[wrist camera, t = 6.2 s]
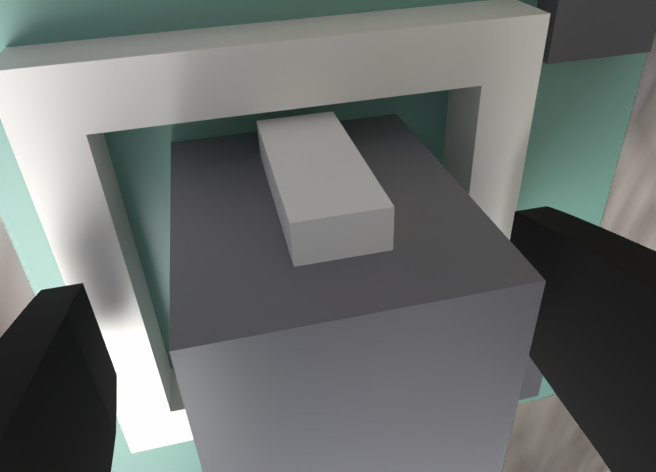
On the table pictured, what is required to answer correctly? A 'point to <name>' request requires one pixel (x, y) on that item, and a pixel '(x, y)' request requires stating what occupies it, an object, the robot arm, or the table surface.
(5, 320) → the table surface
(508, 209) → the board
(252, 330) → the plug
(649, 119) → the table surface
